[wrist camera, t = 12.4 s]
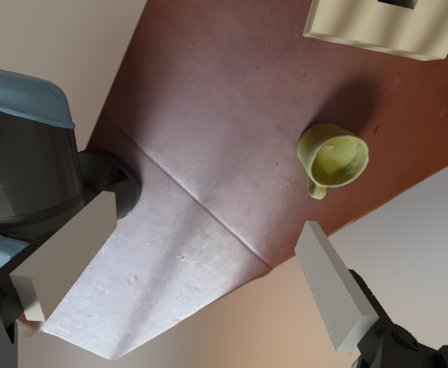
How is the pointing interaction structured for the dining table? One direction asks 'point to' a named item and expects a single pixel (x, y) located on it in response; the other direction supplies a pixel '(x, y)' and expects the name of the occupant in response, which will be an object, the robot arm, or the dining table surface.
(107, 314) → the dining table surface
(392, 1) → the pin
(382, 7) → the block
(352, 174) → the mug
